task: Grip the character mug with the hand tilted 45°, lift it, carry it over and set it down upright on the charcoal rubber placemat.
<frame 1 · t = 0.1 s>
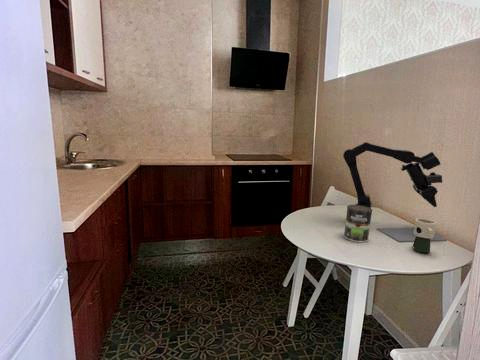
hand: (432, 204, 136), 15 cm above the table, tool tilted 35°, fingers open, 9 cm apart
placemat: (410, 234, 137), on the table
character mug: (420, 251, 119), on the table
coffee can: (355, 238, 130), on the table
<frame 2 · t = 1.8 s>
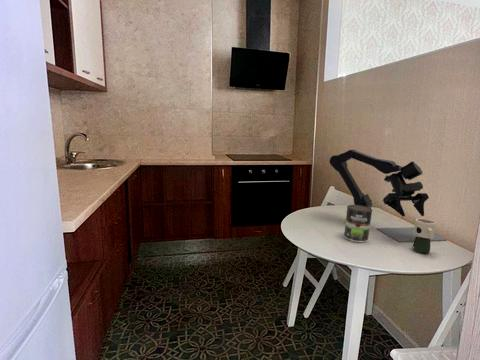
hand: (413, 216, 123), 13 cm above the table, tool tilted 45°, fingers open, 9 cm apart
nothing on the table moved.
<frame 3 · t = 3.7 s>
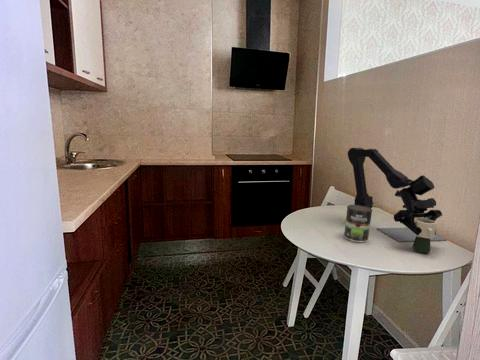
hand: (426, 234, 116), 8 cm above the table, tool tilted 45°, fingers closed on character mug, 7 cm apart
character mug: (420, 251, 119), on the table, touching gripper
everything else where it was.
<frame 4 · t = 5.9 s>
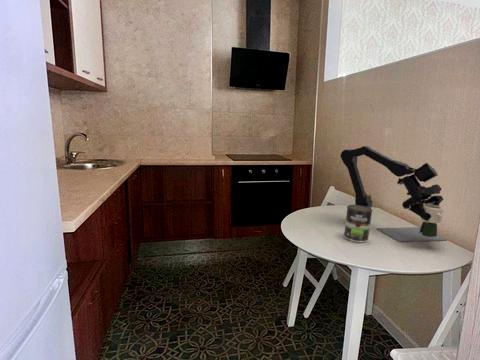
hand: (433, 219, 121), 12 cm above the table, tool tilted 45°, fingers closed on character mug, 7 cm apart
character mug: (427, 236, 124), point 4 cm above the table, touching gripper
everything else where it was.
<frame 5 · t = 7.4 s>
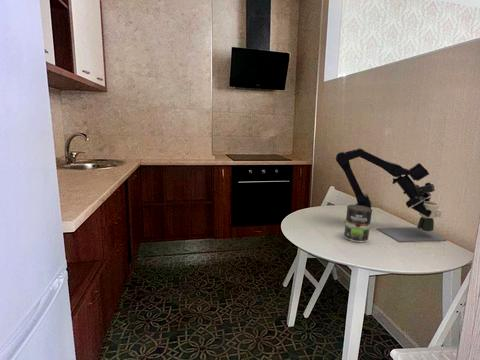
hand: (431, 215, 132), 11 cm above the table, tool tilted 45°, fingers closed on character mug, 7 cm apart
character mug: (424, 230, 135), point 3 cm above the table, touching gripper
everything else where it was.
when the fingers open (9 cm above the table, at t = 8.3 s): character mug stays where it is, resting on placemat.
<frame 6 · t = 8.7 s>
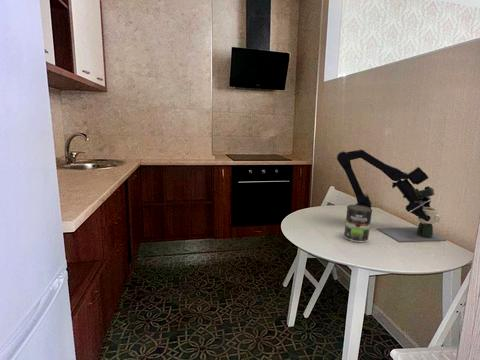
hand: (431, 218, 132), 9 cm above the table, tool tilted 45°, fingers open, 9 cm apart
character mug: (424, 236, 135), resting on placemat
everything else where it was.
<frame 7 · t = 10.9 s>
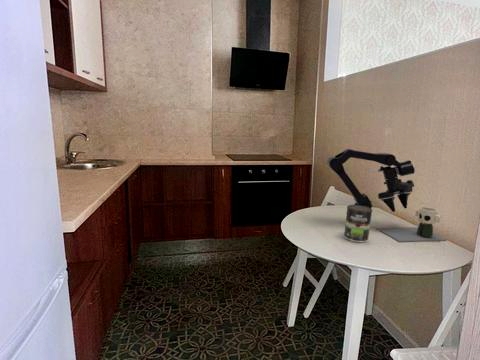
hand: (399, 210, 140), 10 cm above the table, tool tilted 20°, fingers open, 9 cm apart
nothing on the table moved.
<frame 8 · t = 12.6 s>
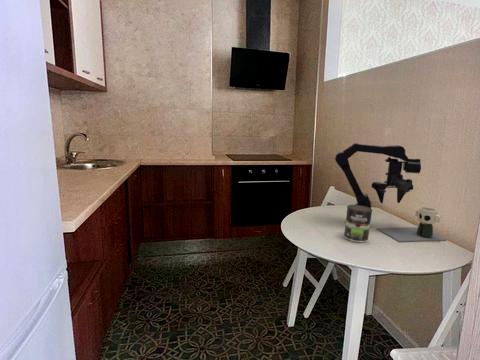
hand: (389, 203, 142), 13 cm above the table, tool pointing down, fingers open, 9 cm apart
nothing on the table moved.
at the end: character mug inside the target area on the placemat (4.5 cm from its centre), point 0.4 cm above the placemat's base; character mug tilted 0°; character mug touching placemat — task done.
